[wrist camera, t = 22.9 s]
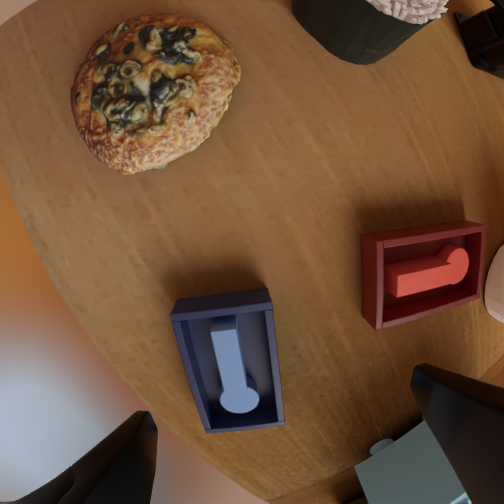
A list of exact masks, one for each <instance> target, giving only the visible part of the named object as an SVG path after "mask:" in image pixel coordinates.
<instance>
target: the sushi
mask: <svg viewBox="0 0 504 504" xmlns="http://www.w3.org/2000/svg"><path fill="white" fill-rule="evenodd" d="M446 1H449V0H292V8H293V13H294V15H295V17H296V18H297V20H298V22H299V23H300V24H301V25H302V26H303V27H304V28H305V29H306V30H307V31H308V32H309V33H310V34H311V35H312V36H313V37H314V38H315V39H316V40H317V41H318V42H319V43H320V44H321V45H322V46H324V47H325V48H326V49H327V50H328V51H329V52H330V53H332V54H333V55H335V56H337V57H338V58H340V59H341V60H345V61H348V62H351V63H354V64H362V65H367V64H372V63H375V62H376V61H378V60H380V59H381V58H383V57H385V56H386V55H388V54H390V53H391V52H392V51H394V50H395V49H396V48H397V47H398V46H400V45H401V44H402V43H403V42H405V41H406V40H407V39H408V38H409V37H411V36H412V35H413V34H414V33H416V32H417V31H419V30H420V29H422V28H423V27H424V26H426V25H427V24H429V23H430V22H432V21H433V20H434V19H436V18H440V17H441V15H442V14H443V13H444V12H446V11H447V8H445V5H446Z"/></svg>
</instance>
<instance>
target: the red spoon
mask: <svg viewBox="0 0 504 504" xmlns="http://www.w3.org/2000/svg"><path fill="white" fill-rule="evenodd" d="M468 265H469V258H468V254H467V252H466V251H465V250H464V249H463V248H460V247H457V246H454V245H446V246H444V247H443V248H441V250H440V251H439V252H438V254H437V257H434V256H430V257H425V258H420V259H415V260H410V261H404V262H399V263H394V264H389V265H384V284H383V288H384V289H386V290H387V291H389V292H390V293H391V294H393V295H394V296H396V297H401V296H405V295H409V294H413V293H417V292H421V291H425V290H429V289H433V288H436V287H440V286H444V285H447V284H450V283H451V284H456V283H458V282H460V281H461V280H462V279H463V278H464V276H465V275H466V273H467V270H468Z"/></svg>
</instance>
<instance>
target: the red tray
mask: <svg viewBox="0 0 504 504" xmlns="http://www.w3.org/2000/svg"><path fill="white" fill-rule="evenodd" d="M446 245H454V246H457V247H460V248H463V249H464V250H465V251H466V252H467V254H468V258H469V265H468V270H467V273H466V275H465V276H464V278H463V279H462V280H461V281H460V282H458V283H456V284H451V283H450V284H447V285H444V286H440V287H436V288H433V289H429V290H425V291H421V292H417V293H413V294H409V295H405V296H401V297H396V296H394V295H393V294H391V293H390V292H389V291H387V290H386V289H384V288H383V284H384V265H389V264H394V263H399V262H404V261H410V260H415V259H420V258H425V257H430V256H434V257H437V254H438V252H439V251H440V250H441V248H443V247H444V246H446ZM484 247H485V225H484V224H480V223H475V222H470V221H459V222H452V223H445V224H437V225H430V226H423V227H415V228H408V229H401V230H393V231H386V232H379V233H372V234H364V235H361V253H362V317H363V318H364V319H365V320H366V321H367V322H368V323H369V324H370V325H371V326H372V327H373V328H374V329H375V330H379V329H383V328H387V327H391V326H395V325H398V324H402V323H405V322H409V321H412V320H416V319H419V318H422V317H425V316H429V315H432V314H435V313H438V312H441V311H444V310H447V309H450V308H453V307H456V306H459V305H462V304H465V303H467V302H470V301H473V300H475V299H478V298H480V291H481V283H482V273H483V262H484Z"/></svg>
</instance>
